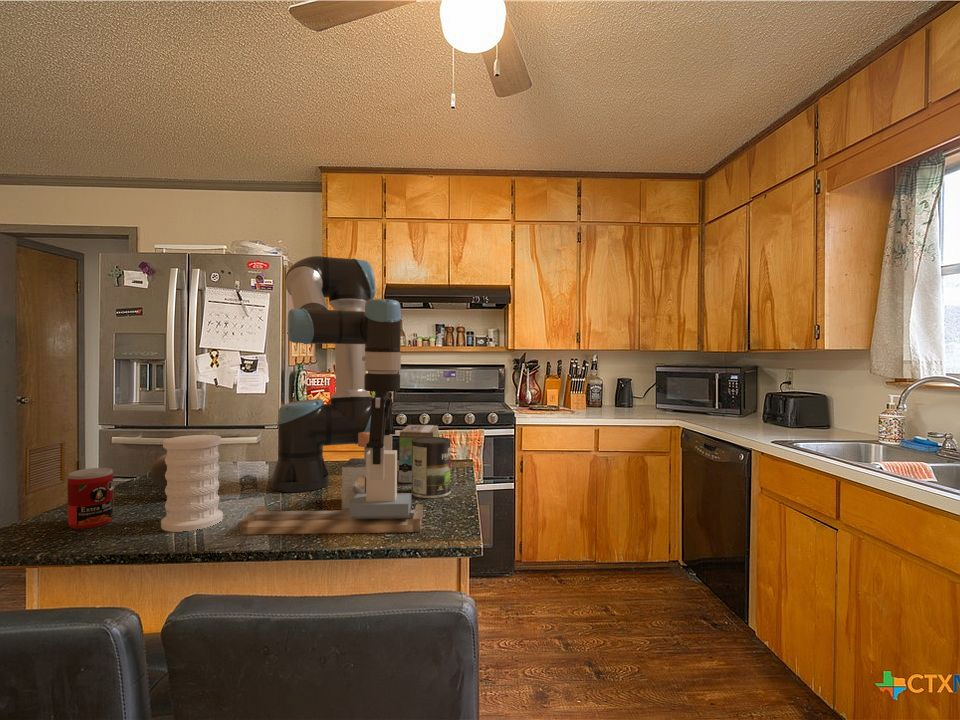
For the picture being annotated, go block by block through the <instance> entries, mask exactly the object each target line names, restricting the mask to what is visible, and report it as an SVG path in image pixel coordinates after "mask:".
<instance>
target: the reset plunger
mask: <svg viewBox="0 0 960 720" xmlns="http://www.w3.org/2000/svg"><path fill="white" fill-rule="evenodd" d="M369 435H370V432H360V433H358V444H357V446H358V447H360V448H364V453H363V455H364V464H366V454H367V452H368V451H369V450H370V448H366V443H368V442H369Z"/></svg>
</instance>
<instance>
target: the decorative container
mask: <svg viewBox="0 0 960 720" xmlns="http://www.w3.org/2000/svg"><path fill="white" fill-rule="evenodd" d="M221 444H222V436H221V435H215V434H214V435H213V434H193V435H183V436H181V435H179V436H174V437H170V438H166V439H163V440H162V448H163V449H164V450H166V454H167V456H166V458H165V462H166V465H167V471H166V473H165V478H166V480H167V486H166V488H165V493H166V495H167V499H166V501H165V504H164V509H165V510H166V516H164V517H163V518H161V521H160V528H161V529H162V530H163V531H165V532H170V533H184V532H183V531H188V532H193V530H195V531H199V529H200V530H204V529H203V528H205V529H207V527H208V528H211V527H213V525H214V526H215V524H216V525H218V524H220V523H221V522H222V521H223V520H224V512H223V510H220V509H219V507H218V506H219V503H220V495H219V489H220V481H219V480H218V479H219V478H218V475H219V474H220V467H219V465H218V463H219V462H218V461H219V459H220V453H219V451H218V448H219V447H218V446H220V445H221ZM222 519H223V520H222ZM220 521H221V522H220ZM219 522H220V523H219ZM217 523H218V524H217ZM210 526H211V527H210ZM197 529H198V530H197Z"/></svg>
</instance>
